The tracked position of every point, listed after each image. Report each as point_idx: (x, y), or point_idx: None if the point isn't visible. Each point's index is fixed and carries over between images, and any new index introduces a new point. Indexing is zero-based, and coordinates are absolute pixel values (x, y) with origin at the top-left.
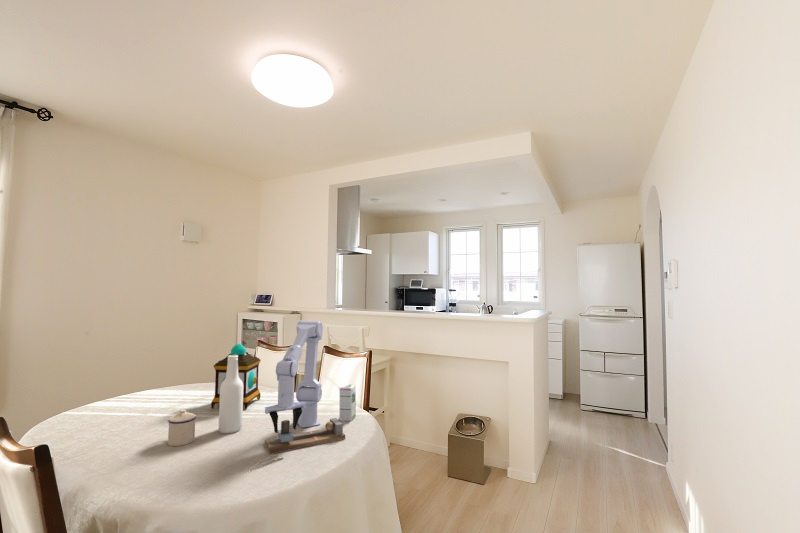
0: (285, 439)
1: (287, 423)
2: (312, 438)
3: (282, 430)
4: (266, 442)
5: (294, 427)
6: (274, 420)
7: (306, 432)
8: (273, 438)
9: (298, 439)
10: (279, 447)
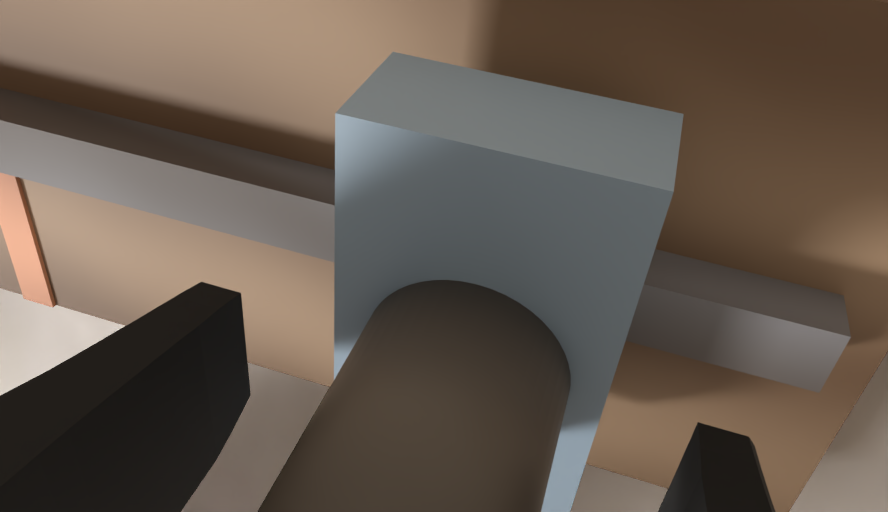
0: (570, 115)
1: (334, 509)
2: (3, 6)
3: (540, 411)
4: (843, 422)
5: (196, 320)
6: None
7: (93, 304)
8: (637, 465)
9: (259, 141)
10: (790, 4)
